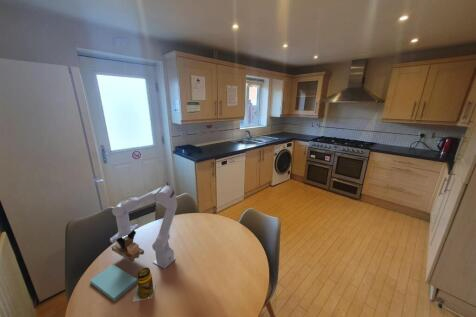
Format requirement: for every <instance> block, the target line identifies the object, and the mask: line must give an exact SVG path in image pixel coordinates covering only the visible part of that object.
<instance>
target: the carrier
mask: <svg viewBox="0 0 476 317" xmlns="http://www.w3.org/2000/svg"><path fill="white" fill-rule="evenodd" d="M124 237H125V238H123V239H125V240H124V245H125V249H124V250H123V249H121V248H118V247H116V244H114V245H112V246H111V251H112V252H114V253H116V254H118V255H119V256H121V257H123V258H125V259H126V260H128V261H130V262H131V263H133V262H135V259H139V257H140V256H142V255H144V254H145V250H144V249H143V248H141V247H139V251H138V252H137V253H136V254H134V255H133V256H132V255H130V254H129V253H128V251H127V246H129V245H130V244H132V238H130V237H128V235H126V236H124Z"/></svg>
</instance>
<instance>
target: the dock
mask: <svg viewBox="0 0 476 317" xmlns="http://www.w3.org/2000/svg"><path fill="white" fill-rule="evenodd" d="M89 284H90V285H92V286H93V287H95V289H97V290H99V291H100V292H101V293H103V295H105V296H106V297H108V298H109V299H110V300H112V301H113V302H115V303H116V302H117V301H118V300H119V299H120V298H121V297H122V296H123V295H125V294H126V293H127V292H129V290H130V289H132V288H133V287H134V286H135V285H136V284H138V283H137V277H134V276H133V275H131V274H129V273H128V272H126V271H124V270H123V269H121V268H120V267H118V266H116V265H115V264H111V265H110V266H109V267H106V268H105V269H104V270H102V271H101V272H99V273H98V274H97V275H95V276H94V277H92V278H91V279H90V280H89Z"/></svg>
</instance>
